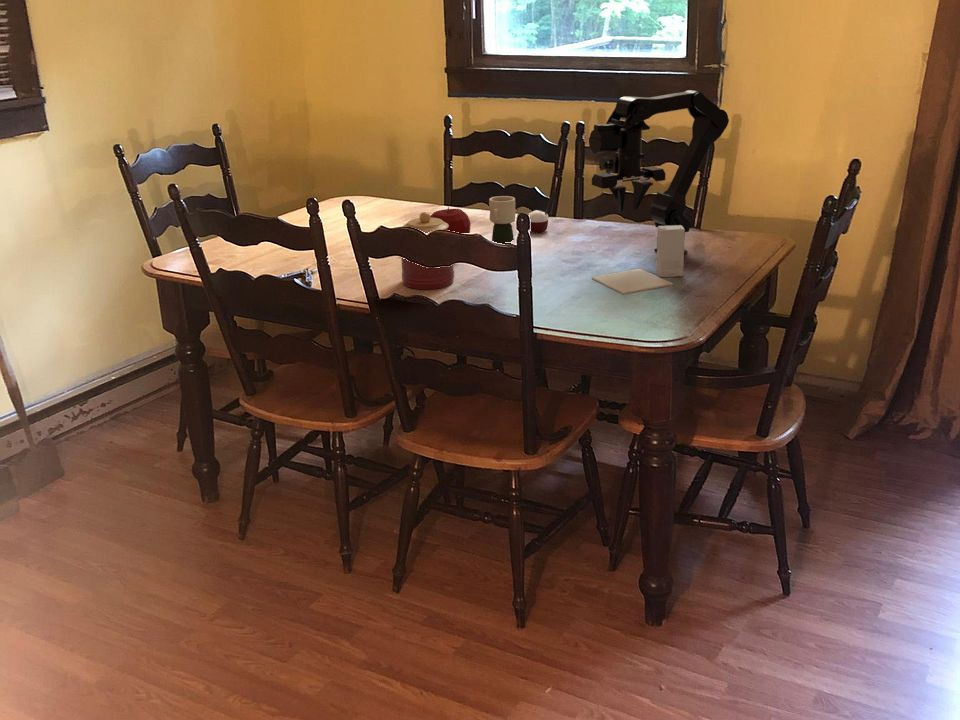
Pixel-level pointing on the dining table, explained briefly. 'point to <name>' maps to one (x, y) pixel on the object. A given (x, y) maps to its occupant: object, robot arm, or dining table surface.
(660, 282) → the mat
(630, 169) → the robot arm
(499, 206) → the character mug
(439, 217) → the apple
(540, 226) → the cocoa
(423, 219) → the canister
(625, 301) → the dining table surface
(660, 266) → the skincare box
